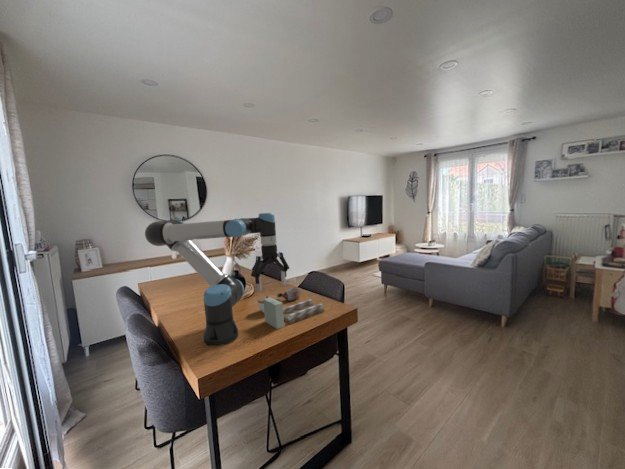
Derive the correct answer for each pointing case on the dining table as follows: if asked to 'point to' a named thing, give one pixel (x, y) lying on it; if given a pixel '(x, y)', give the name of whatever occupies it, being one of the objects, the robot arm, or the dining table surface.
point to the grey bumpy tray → (301, 311)
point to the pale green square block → (273, 312)
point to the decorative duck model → (290, 294)
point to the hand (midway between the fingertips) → (272, 286)
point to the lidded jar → (261, 302)
